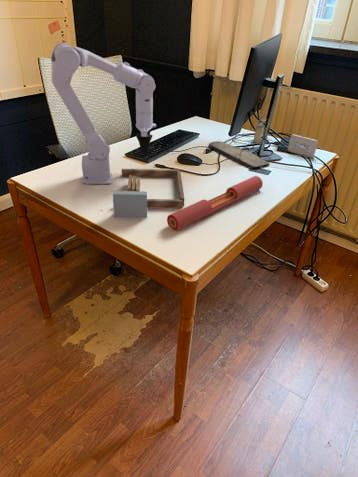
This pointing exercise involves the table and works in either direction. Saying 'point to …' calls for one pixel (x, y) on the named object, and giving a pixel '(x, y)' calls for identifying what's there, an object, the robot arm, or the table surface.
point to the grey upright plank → (130, 204)
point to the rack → (160, 173)
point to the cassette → (301, 149)
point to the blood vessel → (213, 203)
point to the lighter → (259, 131)
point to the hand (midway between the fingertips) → (144, 149)
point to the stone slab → (237, 154)
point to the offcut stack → (133, 183)
